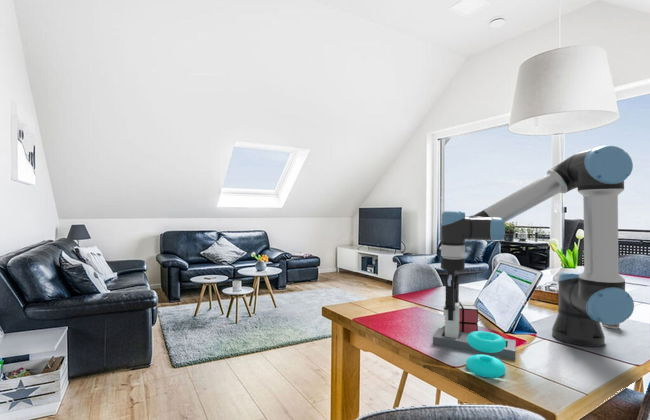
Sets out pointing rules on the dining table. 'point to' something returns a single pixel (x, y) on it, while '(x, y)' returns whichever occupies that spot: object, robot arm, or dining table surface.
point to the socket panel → (464, 345)
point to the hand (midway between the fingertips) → (452, 327)
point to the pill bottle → (611, 325)
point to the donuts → (486, 363)
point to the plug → (455, 332)
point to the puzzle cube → (468, 317)
